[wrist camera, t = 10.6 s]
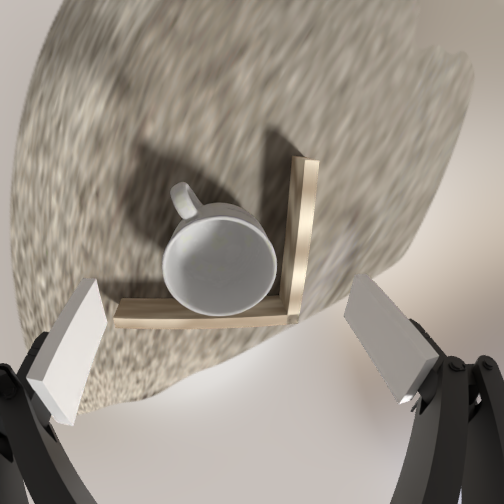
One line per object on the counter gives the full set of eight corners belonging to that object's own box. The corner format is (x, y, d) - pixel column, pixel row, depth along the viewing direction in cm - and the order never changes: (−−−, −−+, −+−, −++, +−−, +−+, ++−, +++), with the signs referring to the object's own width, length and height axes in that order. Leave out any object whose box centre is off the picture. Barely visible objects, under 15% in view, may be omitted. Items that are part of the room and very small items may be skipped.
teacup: (270, 267, 36) (286, 302, 28) (187, 290, 35) (184, 330, 28) (243, 157, 30) (255, 165, 22) (149, 185, 29) (131, 202, 22)
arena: (105, 157, 27) (90, 161, 23) (304, 156, 31) (319, 160, 26) (123, 307, 35) (115, 328, 31) (288, 303, 38) (297, 323, 34)
